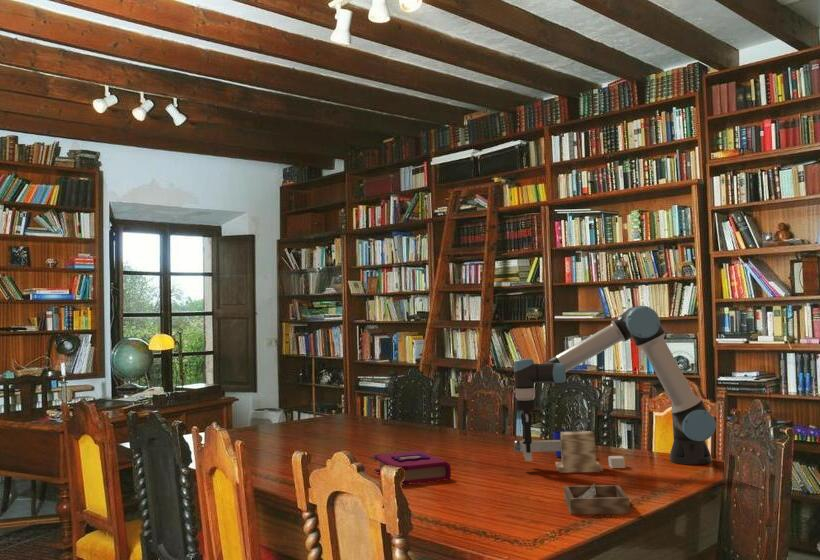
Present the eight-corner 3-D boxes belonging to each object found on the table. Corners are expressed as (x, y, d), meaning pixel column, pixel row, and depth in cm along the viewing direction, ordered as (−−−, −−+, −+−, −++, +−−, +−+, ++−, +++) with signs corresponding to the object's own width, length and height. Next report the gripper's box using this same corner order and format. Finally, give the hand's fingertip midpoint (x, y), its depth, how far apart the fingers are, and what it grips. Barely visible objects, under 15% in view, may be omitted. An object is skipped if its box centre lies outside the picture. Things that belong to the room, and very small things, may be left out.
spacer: (608, 456, 285) (608, 466, 285) (611, 458, 280) (611, 469, 280) (621, 455, 285) (622, 466, 284) (624, 458, 280) (625, 468, 280)
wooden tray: (619, 499, 234) (618, 485, 234) (629, 513, 217) (629, 498, 217) (564, 500, 236) (564, 485, 236) (570, 514, 219) (570, 499, 219)
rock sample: (565, 488, 235) (585, 472, 232) (583, 502, 236) (603, 486, 233) (568, 510, 225) (588, 493, 222) (586, 525, 226) (607, 508, 223)
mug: (584, 458, 302) (583, 433, 302) (554, 458, 304) (552, 433, 304) (583, 454, 310) (582, 430, 310) (554, 454, 312) (553, 430, 312)
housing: (597, 464, 289) (595, 429, 290) (603, 471, 275) (601, 435, 276) (555, 465, 291) (554, 430, 291) (559, 472, 277) (557, 436, 277)
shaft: (588, 449, 285) (587, 438, 285) (589, 451, 281) (589, 440, 281) (514, 451, 288) (514, 439, 288) (515, 453, 283) (514, 441, 283)
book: (423, 467, 298) (422, 448, 299) (451, 480, 272) (450, 459, 273) (373, 472, 291) (373, 453, 292) (397, 487, 265) (396, 465, 265)
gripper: (514, 396, 297) (516, 453, 296) (516, 402, 276) (519, 464, 275) (533, 395, 296) (535, 453, 295) (537, 401, 275) (539, 463, 274)
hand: (528, 458), depth 285 cm, fingers open, 8 cm apart
